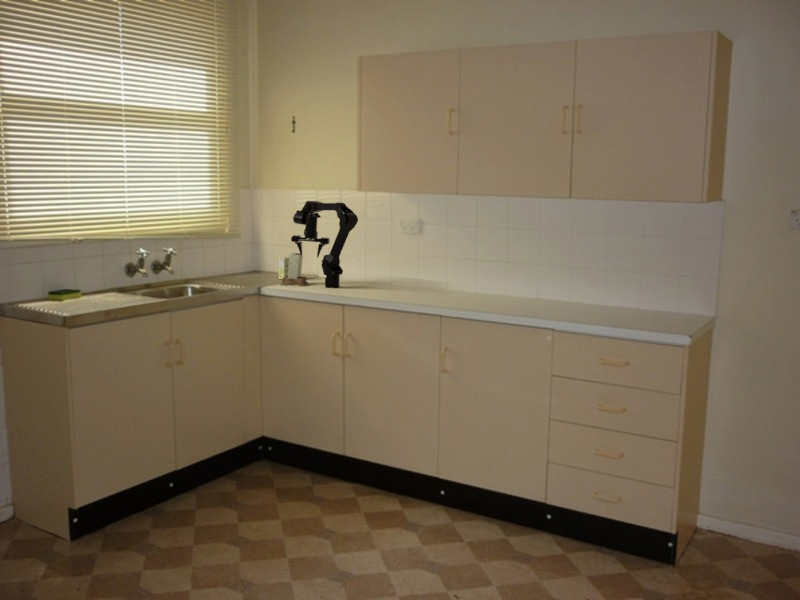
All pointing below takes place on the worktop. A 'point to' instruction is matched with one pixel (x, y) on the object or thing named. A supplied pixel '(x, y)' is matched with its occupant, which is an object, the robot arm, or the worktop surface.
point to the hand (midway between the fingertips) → (309, 256)
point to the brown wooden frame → (294, 281)
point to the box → (283, 267)
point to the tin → (295, 266)
